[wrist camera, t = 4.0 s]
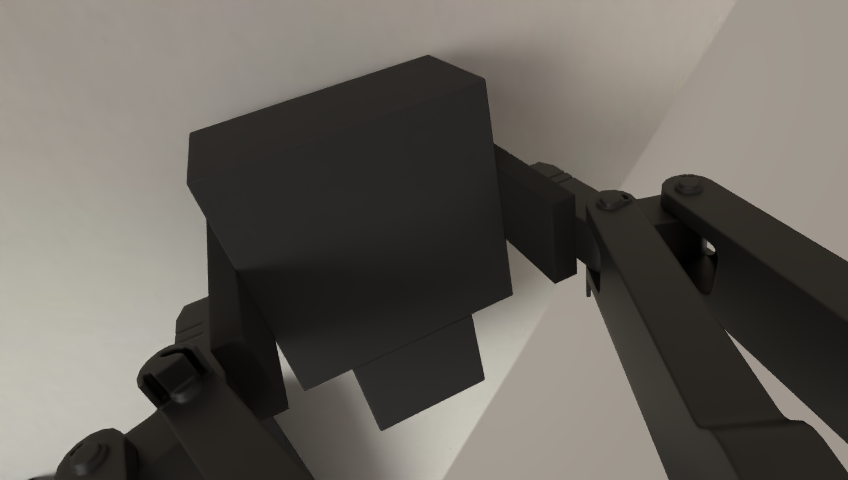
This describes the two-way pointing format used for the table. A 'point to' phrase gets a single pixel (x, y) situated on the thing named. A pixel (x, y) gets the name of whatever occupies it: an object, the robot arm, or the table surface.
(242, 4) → the table surface
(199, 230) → the table surface
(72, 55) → the table surface
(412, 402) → the tongue pad
